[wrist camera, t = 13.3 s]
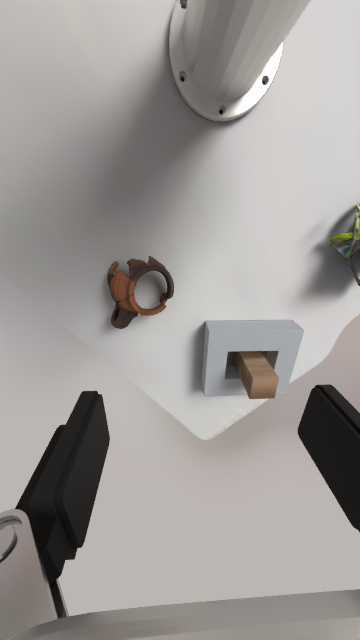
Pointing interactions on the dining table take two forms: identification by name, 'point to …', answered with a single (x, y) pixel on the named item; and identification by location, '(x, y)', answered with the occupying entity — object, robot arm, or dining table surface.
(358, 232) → the passion flower
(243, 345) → the well block
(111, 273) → the dark brown looped piece
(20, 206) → the dining table surface
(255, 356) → the wood grain block
